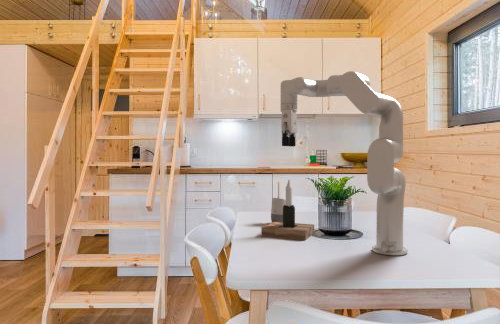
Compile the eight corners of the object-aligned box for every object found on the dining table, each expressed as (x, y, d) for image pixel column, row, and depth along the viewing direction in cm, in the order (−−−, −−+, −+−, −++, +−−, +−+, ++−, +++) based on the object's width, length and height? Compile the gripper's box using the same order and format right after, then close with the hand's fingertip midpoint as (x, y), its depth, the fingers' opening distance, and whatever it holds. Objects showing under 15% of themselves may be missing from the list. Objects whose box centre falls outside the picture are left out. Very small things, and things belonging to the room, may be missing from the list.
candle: (293, 233, 178) (293, 179, 178) (295, 236, 173) (295, 180, 172) (282, 233, 178) (282, 179, 177) (283, 236, 173) (284, 180, 172)
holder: (305, 240, 164) (305, 230, 164) (261, 236, 172) (261, 226, 172) (314, 233, 179) (314, 223, 179) (273, 229, 187) (273, 220, 187)
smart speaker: (292, 223, 203) (292, 197, 203) (282, 226, 196) (282, 198, 196) (277, 221, 209) (277, 195, 209) (267, 224, 202) (267, 197, 202)
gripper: (291, 105, 165) (291, 145, 165) (302, 109, 181) (302, 146, 181) (274, 106, 168) (274, 146, 168) (286, 110, 184) (286, 146, 184)
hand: (288, 146), depth 175 cm, fingers open, 9 cm apart
